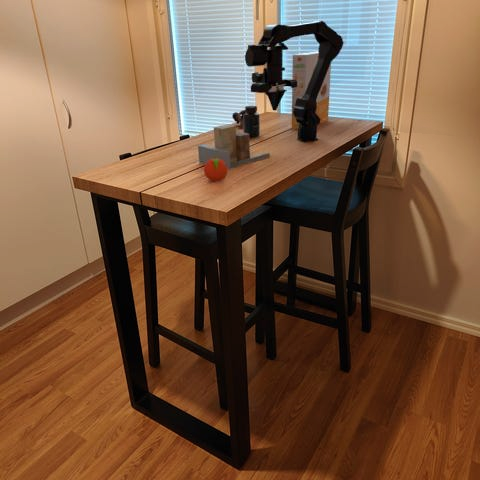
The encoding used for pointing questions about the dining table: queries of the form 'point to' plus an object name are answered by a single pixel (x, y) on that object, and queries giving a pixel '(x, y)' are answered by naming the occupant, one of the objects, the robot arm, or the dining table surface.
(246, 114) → the supplement bottle
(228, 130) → the skincare box
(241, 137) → the walnut block
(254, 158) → the backstop rail
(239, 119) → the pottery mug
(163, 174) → the dining table surface
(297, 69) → the cereal box
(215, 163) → the red rounded fruit
